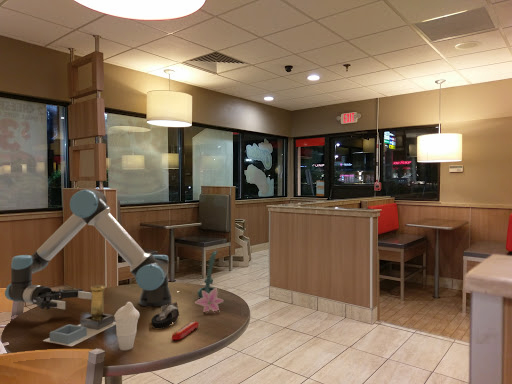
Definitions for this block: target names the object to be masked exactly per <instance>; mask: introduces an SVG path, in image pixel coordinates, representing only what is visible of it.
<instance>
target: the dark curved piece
mask: <svg viewBox="0 0 512 384" xmlns="http://www.w3.org/2000/svg"><path fill="white" fill-rule="evenodd" d="M217 254H218V250H215V251H212V253H211V254H210V257H209V260H208V263H207V265H208V268H207V269H206V274H207V275H206V278H205V279H204V280H203V281H204V283H205V285H204V287H200V288H199V289H198V290H197V297H198V298H199V297H200V298H203V295H202V290H203V291H205V292H207V293H208V294H209V293H210V292H211V291H212V290H213V289H214V288H215V287H212V286H210V285H213V283H214V278H212V271H213V267H214V263H215V260H216V257H217Z"/></svg>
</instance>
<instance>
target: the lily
mask: <svg viewBox="0 0 512 384" xmlns="http://www.w3.org/2000/svg"><path fill="white" fill-rule="evenodd" d="M213 288H214V289H213V290H212V291H211V292H210V293H209V294H208V293H207V292H205V291H203V290H202V295H203V298H200V299H199V298H198V299H197V300H195V301H194V303H195V304H196V305H198V306H202V307H203V309H202V310H203V311H202V313H203V312H205V311H208V312H209V311H212V312H214V311H217V310H219V311H220V309H219V308H220V307H219V304H222V303H223V302H224V299H222V298H221V297H218V288H217V287H213Z"/></svg>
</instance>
